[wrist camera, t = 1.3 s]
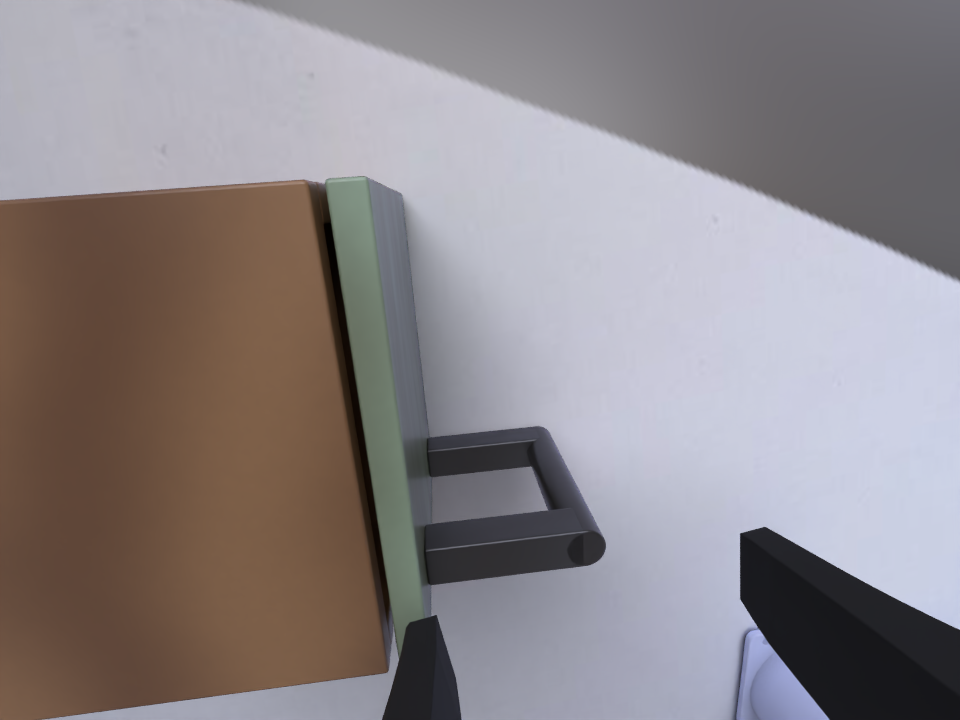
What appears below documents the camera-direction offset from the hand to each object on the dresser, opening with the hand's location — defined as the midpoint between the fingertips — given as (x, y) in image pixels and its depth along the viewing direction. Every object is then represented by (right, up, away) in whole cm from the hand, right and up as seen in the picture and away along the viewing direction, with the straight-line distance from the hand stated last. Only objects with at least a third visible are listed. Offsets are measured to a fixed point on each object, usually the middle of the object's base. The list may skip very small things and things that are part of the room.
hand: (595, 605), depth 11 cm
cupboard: (-11, +6, +9) cm, 16 cm away
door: (-3, +7, +9) cm, 12 cm away
